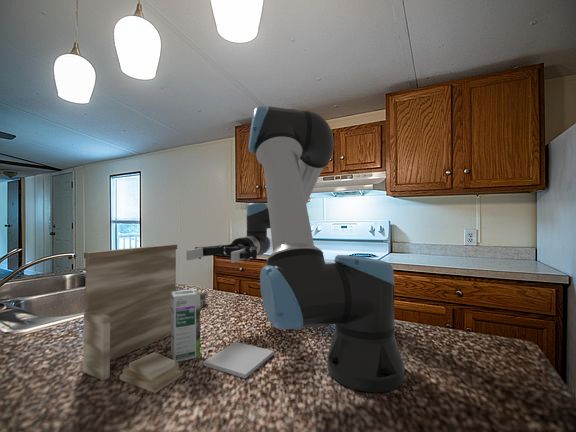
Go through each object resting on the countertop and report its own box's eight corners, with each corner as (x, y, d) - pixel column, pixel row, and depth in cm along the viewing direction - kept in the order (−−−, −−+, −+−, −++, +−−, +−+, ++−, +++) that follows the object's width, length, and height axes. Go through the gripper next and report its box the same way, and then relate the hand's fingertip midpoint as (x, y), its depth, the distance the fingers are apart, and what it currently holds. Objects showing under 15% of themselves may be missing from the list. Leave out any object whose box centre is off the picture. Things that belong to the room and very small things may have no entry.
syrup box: (173, 364, 60) (173, 296, 60) (170, 352, 65) (170, 290, 65) (200, 357, 63) (200, 292, 63) (195, 347, 68) (195, 287, 68)
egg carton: (208, 303, 105) (208, 292, 105) (199, 310, 97) (200, 298, 97) (181, 302, 106) (181, 291, 106) (171, 308, 98) (171, 297, 98)
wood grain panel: (193, 336, 74) (193, 245, 74) (103, 380, 54) (104, 254, 54) (172, 331, 78) (172, 244, 78) (80, 370, 57) (81, 252, 58)
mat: (273, 354, 64) (273, 351, 64) (245, 378, 54) (245, 374, 54) (235, 344, 69) (235, 341, 69) (203, 365, 59) (203, 361, 59)
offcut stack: (184, 376, 56) (184, 358, 56) (155, 395, 50) (155, 375, 50) (150, 365, 60) (150, 348, 60) (119, 381, 54) (119, 362, 54)
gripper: (279, 260, 90) (252, 273, 70) (212, 257, 98) (170, 267, 78) (279, 237, 90) (252, 243, 70) (212, 236, 98) (170, 240, 78)
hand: (209, 256), depth 74 cm, fingers open, 13 cm apart
